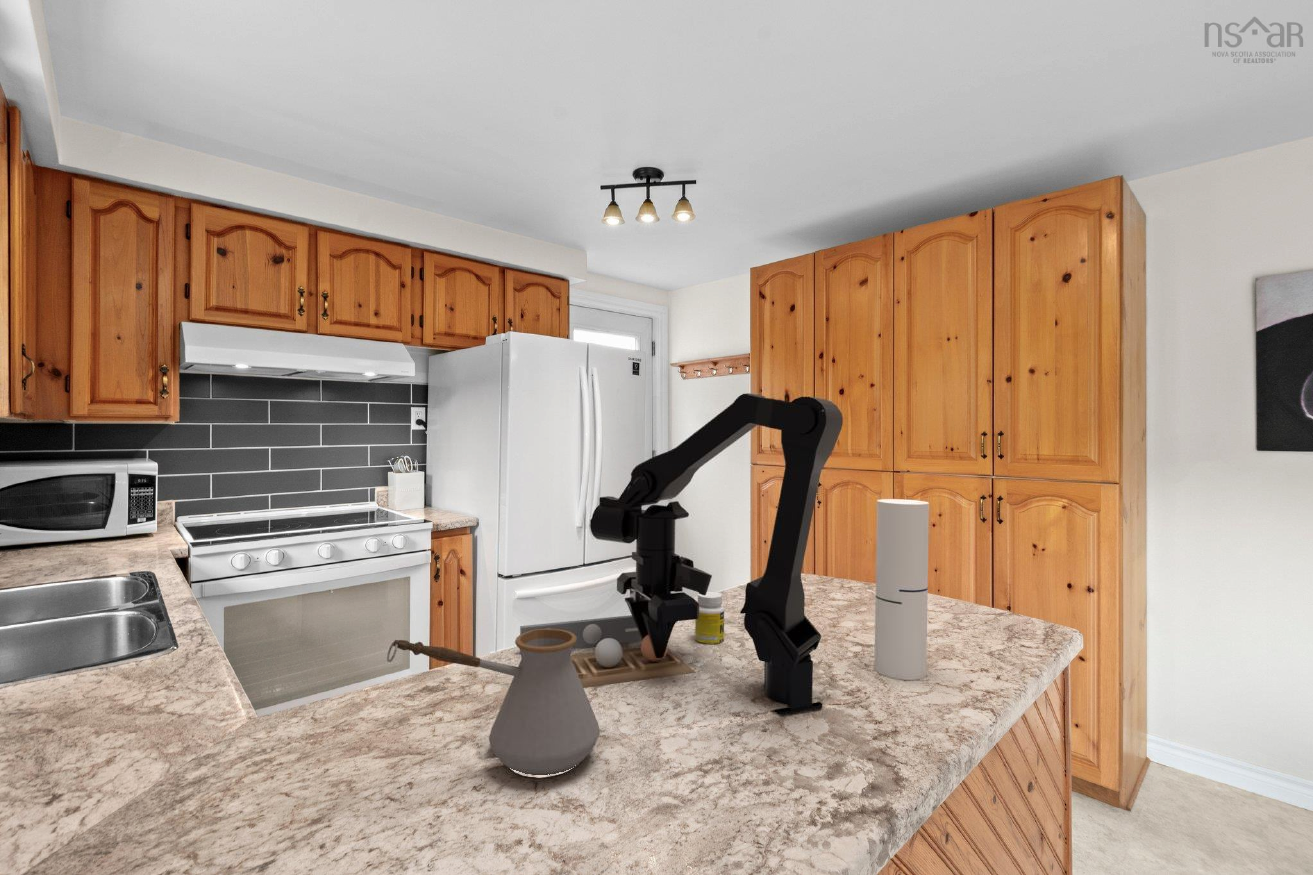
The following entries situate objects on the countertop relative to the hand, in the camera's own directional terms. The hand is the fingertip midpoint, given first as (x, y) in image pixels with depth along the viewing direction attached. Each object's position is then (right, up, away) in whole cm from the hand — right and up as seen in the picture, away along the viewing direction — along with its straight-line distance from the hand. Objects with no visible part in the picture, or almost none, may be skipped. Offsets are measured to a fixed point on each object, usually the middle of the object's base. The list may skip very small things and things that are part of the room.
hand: (654, 652), depth 93 cm
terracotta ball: (0, -1, 0) cm, 1 cm away
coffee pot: (-16, -3, -29) cm, 33 cm away
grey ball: (-7, -1, -3) cm, 7 cm away
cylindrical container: (+36, -3, 0) cm, 36 cm away
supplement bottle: (+9, -3, +10) cm, 14 cm away
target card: (-10, -2, +6) cm, 12 cm away
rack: (-7, -2, -3) cm, 7 cm away
